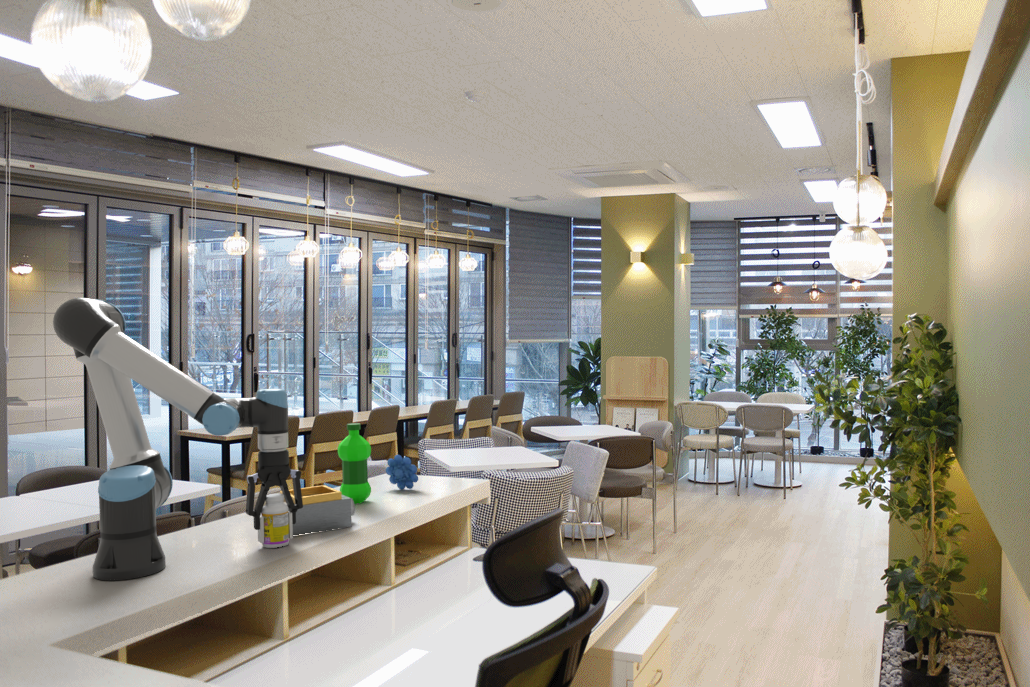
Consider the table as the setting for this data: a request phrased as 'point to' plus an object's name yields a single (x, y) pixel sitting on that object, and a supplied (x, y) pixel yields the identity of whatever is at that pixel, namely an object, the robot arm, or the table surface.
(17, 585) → the table surface
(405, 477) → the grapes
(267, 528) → the supplement bottle
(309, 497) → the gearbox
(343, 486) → the plastic bottle
